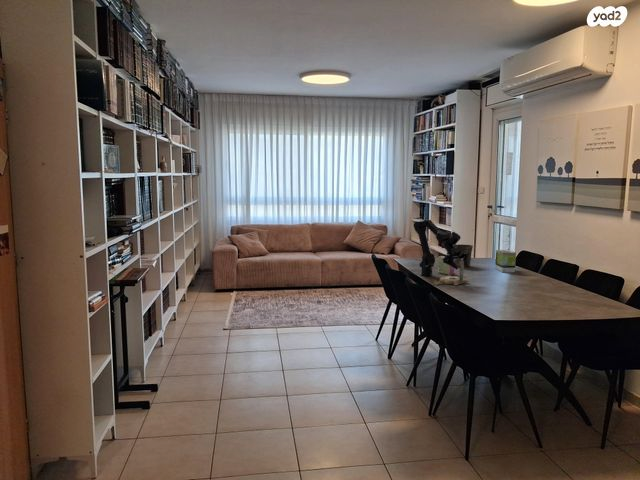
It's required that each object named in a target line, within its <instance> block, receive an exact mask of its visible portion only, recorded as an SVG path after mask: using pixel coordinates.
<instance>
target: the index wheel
mask: <svg viewBox="0 0 640 480" xmlns="http://www.w3.org/2000/svg"><path fill="white" fill-rule="evenodd" d="M464 270H465V267H464V261H460V267H459V276H452V275H446V276H437V277H436V278H435V279H436V280H435V281H441V284H440V285H442V284H447V285H453V286H458V285H462V284H467V285H468V284H469V283H470V281H469V279H466V276H464V272H465V271H464Z"/></svg>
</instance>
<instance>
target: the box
mask: <svg viewBox="0 0 640 480" xmlns="http://www.w3.org/2000/svg"><path fill="white" fill-rule="evenodd" d="M445 256H446V255H445ZM445 256H444V255H441V256H438V257H437V273H439V274H443V275H447V276H452V275H455V268H453V267H452V266H450V265H448V264H446V263H444V262H443V258H444V257H445ZM454 262H455V260H454Z"/></svg>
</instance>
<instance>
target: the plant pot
mask: <svg viewBox="0 0 640 480" xmlns="http://www.w3.org/2000/svg"><path fill="white" fill-rule="evenodd" d="M460 246H464V247H465V250H464V251H463V252H461V254H460V255H459V256H461V255H462V254H463V253H468V254H469V255H470V256H469V257H468V259H467V262H468V268H469V267H471V260H472V251H473V248H474V245H472V244H463V243H462V244H460V243H459V244H456V245H454V247H455V248H457V247H460ZM455 264H456V266H457V268H460V260H459V259H455ZM464 268H466V267H465V266H464Z"/></svg>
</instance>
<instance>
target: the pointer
mask: <svg viewBox="0 0 640 480" xmlns="http://www.w3.org/2000/svg"><path fill="white" fill-rule="evenodd" d="M433 282H434V285H436V286H437V285H438V286H439V285H442V284H441V281H438V280H434V281H433Z"/></svg>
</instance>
